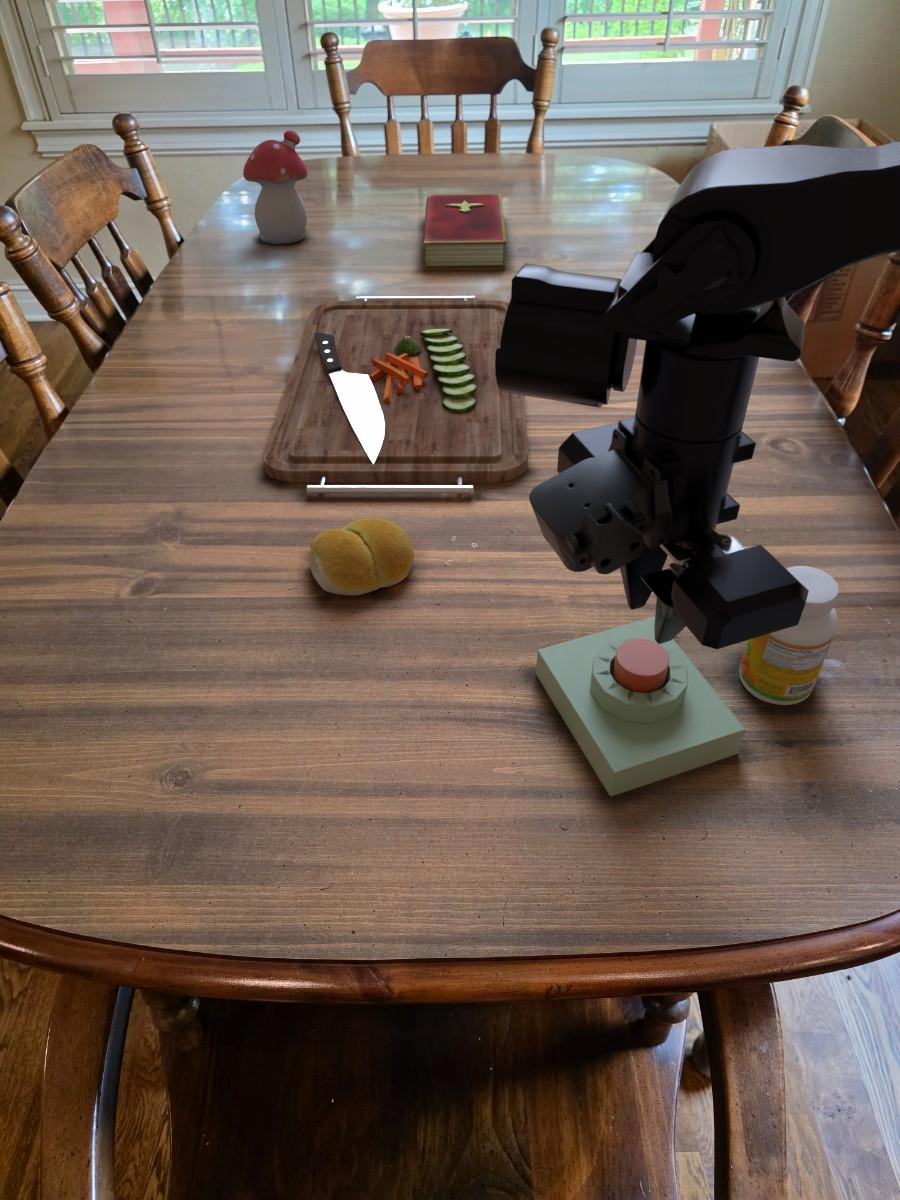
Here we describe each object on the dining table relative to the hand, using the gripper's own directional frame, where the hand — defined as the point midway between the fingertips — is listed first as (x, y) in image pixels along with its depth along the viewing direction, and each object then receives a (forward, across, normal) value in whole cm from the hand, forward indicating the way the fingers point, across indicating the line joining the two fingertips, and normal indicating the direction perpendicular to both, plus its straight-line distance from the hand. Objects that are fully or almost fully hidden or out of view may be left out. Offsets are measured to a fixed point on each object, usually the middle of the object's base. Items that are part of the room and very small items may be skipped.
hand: (649, 623), depth 57 cm
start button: (+5, 0, 0) cm, 5 cm away
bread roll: (+9, -23, -14) cm, 28 cm away
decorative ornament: (+9, -105, -3) cm, 105 cm away
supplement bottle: (+9, +1, +12) cm, 15 cm away
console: (+9, 0, 0) cm, 9 cm away
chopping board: (+9, -53, 0) cm, 54 cm away
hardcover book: (+9, -92, +22) cm, 95 cm away
